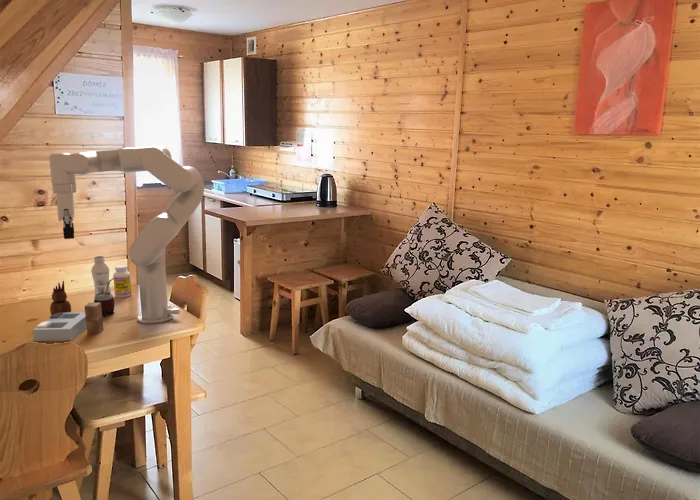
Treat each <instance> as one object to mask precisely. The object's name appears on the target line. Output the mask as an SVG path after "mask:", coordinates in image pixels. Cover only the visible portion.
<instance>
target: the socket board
mask: <svg viewBox="0 0 700 500" xmlns="http://www.w3.org/2000/svg"><path fill="white" fill-rule="evenodd" d="M85 329H87V326H86V316H85V311H79V312H78V311H77V312H76V311H75V312H72V311H71V312H65V313H54V314H53V315H52V316H51V315H50V316H49V317H48V318H47V319H46V320H45V321H42V322H40V323H39V324H37V325H36V327H34V328H33V329H32V333H33V334H32V335H33V340H34V342H53V341H54V342H57V341H58V342H59V341H63V342H64V341H72V340H73V339H75V338H76V337H77V336H79V334H80V333H81V332H83V331H84V330H85Z"/></svg>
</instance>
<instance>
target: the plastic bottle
mask: <svg viewBox="0 0 700 500" xmlns="http://www.w3.org/2000/svg"><path fill="white" fill-rule="evenodd" d="M105 261H106V260H105V256H103V255H100V256H99V255H98V256H94V257H93V262H94V264H93V266H92V268H91V270H90V271H91V272H90V273H91V276H92V279H93V284H94V297H93V299H94V298H95V296H96V295H97V294H99V293H106V289H107V283H108V282H109V281H110V268H109V266H108V265H107V264H106V262H105ZM111 292H112V291H111V287H110V286H109V287H108V292H107V293H111ZM111 294H112V293H111Z"/></svg>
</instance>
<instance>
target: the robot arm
mask: <svg viewBox="0 0 700 500" xmlns="http://www.w3.org/2000/svg"><path fill="white" fill-rule="evenodd" d="M48 159H49V169H50V177H51V188H52V194H54V195H55V194H56V195H55V198H56V207H57V217H58V219H57V220H58V222H59V223H61V221H62V225H63V227H62V231H63V232H62V233H63V239H64V240H71V239H75V227H74V225H75V224H74V219H75V202H74V194H75V193H77V192H78V191H77V182H76V175H81V176H83V175H87V174H93V173H103V172H104V173H105V172H122V173H135V172H137V173H138V172H139V173H140V172H147V173H149V174H150V175H152V176H153V177H154V178H156V179H157V180H158V181H160V182H161V183H163V184H164V185H165V186H167V187H168V188H169V189H171V190H172V191H174V192H177V194H176V195H175V197H174V198H172V200H171V201H170V202H169V204H168V205H167V207H166V208H165V209H164V210H163V211H162V212H161V213H160V214H157V215H156V216H155V217H153V218H152V219H151V220H150V221H149V222H148V223H147V224H146V225H145V227H144V228H143V229H142V230H141V232H140V233H139V234H138V235H137V237H136V238H135V239H134V240H133V242H132V243H131V244H130V246H129V249H128V258H129V260H130V262H131V263H132V264H133V265H135V266H137V276H138V287H139V288H138V289H139V300H140V301H139V302H140V311H141V312H140V313H141V314H138V316H137V322H139V323H141V324H147V325H148V324H150V325H151V324H161V323H164V322H168V321H170V320H171V319H173V318H174V315H180V314H181V310H180V309H179V308H178V307H173V308H172V307H171V304H169V302H168V301H169V300H168V288H167V273H166V247H167V246H168V245H169V243H170V242H171V241H172V240H173V239H175V238H176V236H178V235H179V233H180V231H181V230H182V228H183V227H184V226H185V225H186V223H187V222H188V221H189V219H190V218H191V217H192V215H193V214H194V212H195V211H196V210H197V209H198V208H199V206H200V204H201V202H202V200H203V198H204V197H203V196H204V193H205V183H204V179H203V177H202V175H201V173H200V172H199V170H198V169H197V168H195V167H193V166H190V165H183V166H182V165H181V164H179V163H178V162H177V161H175V160H174V159H173V158H172V154H171V151H170V150H169V149H168V148H167V147H165V146H163V145H150V146H149V145H148V146H147V145H146V146H135V147H133V146H131V147H121V148H118V149H112V150H111V149H110V150H95V151H83V152H82V151H81V152H75V153H69V152H54V153H51V154H49V157H48Z"/></svg>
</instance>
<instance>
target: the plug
mask: <svg viewBox="0 0 700 500" xmlns="http://www.w3.org/2000/svg"><path fill="white" fill-rule="evenodd" d="M84 312H85V316H86V326H87V327H86V334H87V335H94V334H95V335H97V334H101V332H103V331H104V322H103V321H104V320H103V315H102V310H101V303H94V302H88V303H87V304H85V305H84Z"/></svg>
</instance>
